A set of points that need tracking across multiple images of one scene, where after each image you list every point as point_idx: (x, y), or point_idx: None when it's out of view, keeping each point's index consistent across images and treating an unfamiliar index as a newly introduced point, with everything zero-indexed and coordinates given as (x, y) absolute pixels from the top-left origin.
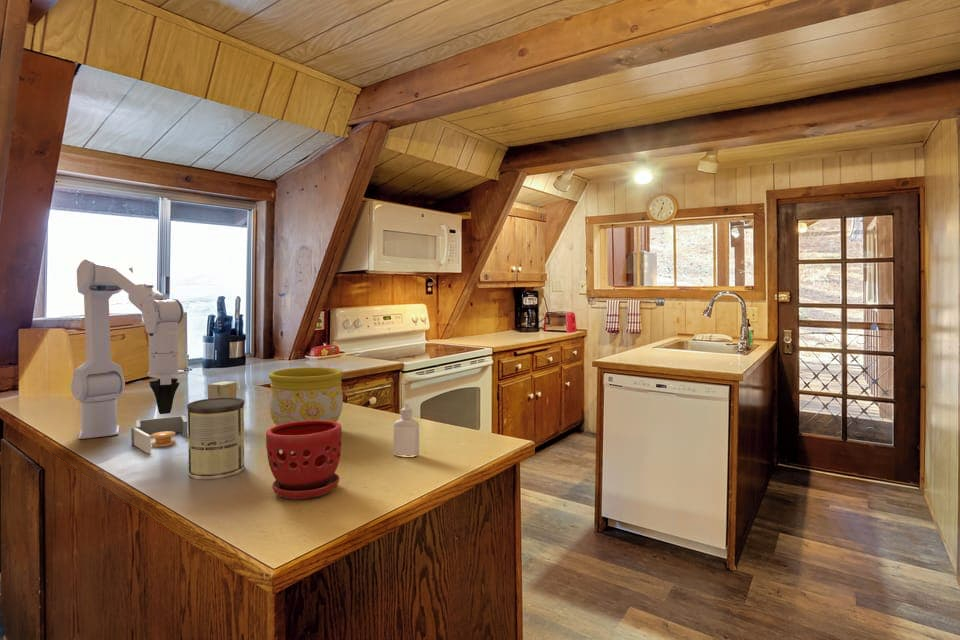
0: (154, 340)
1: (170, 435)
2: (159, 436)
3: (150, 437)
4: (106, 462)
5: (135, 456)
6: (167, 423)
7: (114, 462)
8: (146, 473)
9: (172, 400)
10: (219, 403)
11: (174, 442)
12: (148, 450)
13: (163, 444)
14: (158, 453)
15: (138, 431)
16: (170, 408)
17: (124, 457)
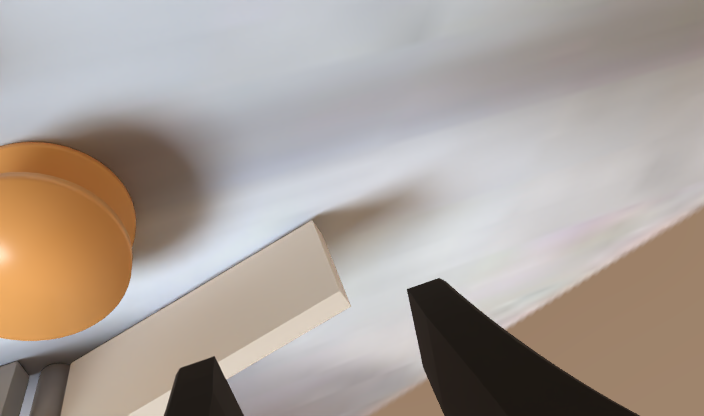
0: None
1: (87, 196)
2: (125, 265)
3: (337, 282)
4: (415, 354)
5: (351, 274)
6: None
7: None
8: (701, 116)
9: (561, 373)
10: None
11: (45, 146)
12: (322, 238)
13: (120, 205)
14: (326, 172)
15: None
16: (473, 313)
17: (351, 317)
